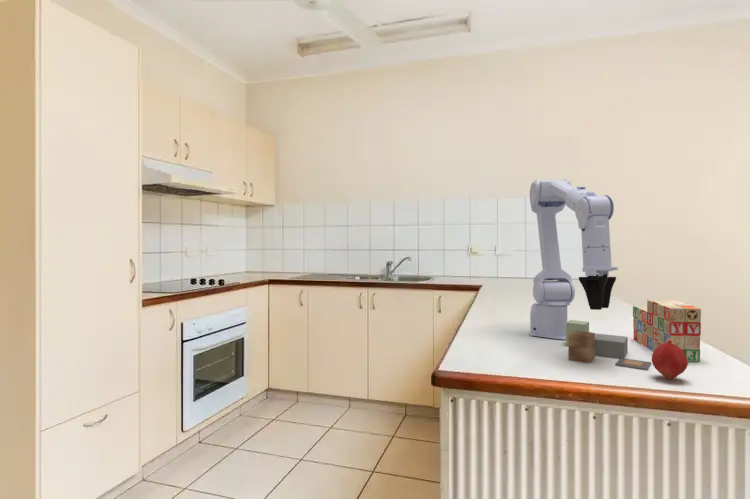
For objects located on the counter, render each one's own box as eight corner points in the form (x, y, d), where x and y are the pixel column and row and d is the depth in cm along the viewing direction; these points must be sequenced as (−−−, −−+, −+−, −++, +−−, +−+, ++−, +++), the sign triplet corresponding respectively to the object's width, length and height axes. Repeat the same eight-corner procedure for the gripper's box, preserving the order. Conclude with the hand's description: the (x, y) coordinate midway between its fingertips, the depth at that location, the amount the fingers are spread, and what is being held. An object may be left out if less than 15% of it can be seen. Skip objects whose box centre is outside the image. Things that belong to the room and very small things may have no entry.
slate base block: (590, 355, 103) (590, 338, 103) (595, 349, 109) (595, 333, 109) (624, 360, 99) (624, 342, 99) (627, 353, 105) (627, 336, 105)
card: (615, 365, 94) (615, 363, 94) (620, 359, 99) (620, 357, 99) (647, 370, 90) (647, 368, 90) (651, 363, 95) (651, 361, 95)
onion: (644, 375, 87) (644, 335, 87) (671, 374, 88) (671, 334, 88) (666, 384, 82) (666, 342, 81) (695, 383, 82) (695, 341, 82)
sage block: (565, 345, 112) (565, 322, 111) (570, 342, 115) (570, 319, 115) (584, 348, 109) (584, 324, 109) (589, 344, 112) (589, 321, 112)
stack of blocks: (632, 339, 118) (632, 294, 117) (658, 340, 116) (658, 294, 116) (669, 362, 97) (669, 307, 96) (701, 363, 95) (701, 307, 95)
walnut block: (568, 360, 99) (568, 333, 99) (573, 355, 102) (573, 330, 102) (590, 363, 96) (590, 336, 96) (594, 358, 100) (594, 332, 99)
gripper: (609, 245, 90) (613, 310, 89) (621, 249, 102) (625, 307, 100) (573, 247, 95) (576, 310, 93) (588, 250, 106) (592, 306, 105)
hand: (599, 308), depth 97 cm, fingers open, 7 cm apart
